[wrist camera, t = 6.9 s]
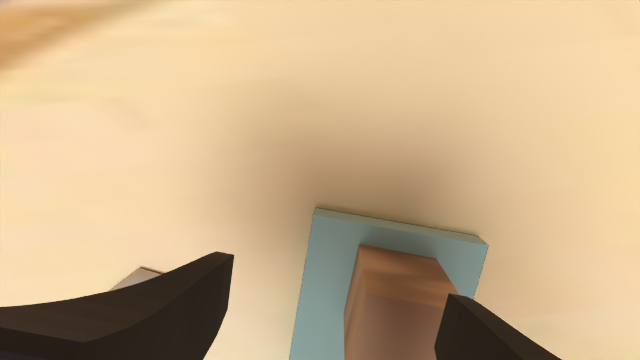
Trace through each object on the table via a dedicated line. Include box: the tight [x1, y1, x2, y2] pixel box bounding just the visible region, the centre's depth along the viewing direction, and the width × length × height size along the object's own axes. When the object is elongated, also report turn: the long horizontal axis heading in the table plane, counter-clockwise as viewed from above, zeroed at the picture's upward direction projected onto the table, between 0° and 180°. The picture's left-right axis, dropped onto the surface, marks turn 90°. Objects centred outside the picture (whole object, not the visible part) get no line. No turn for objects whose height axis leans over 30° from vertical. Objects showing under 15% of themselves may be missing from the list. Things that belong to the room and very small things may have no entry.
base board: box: [289, 208, 488, 360], centre depth 22 cm, size 10×10×2 cm
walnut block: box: [343, 244, 459, 360], centre depth 18 cm, size 4×4×6 cm
